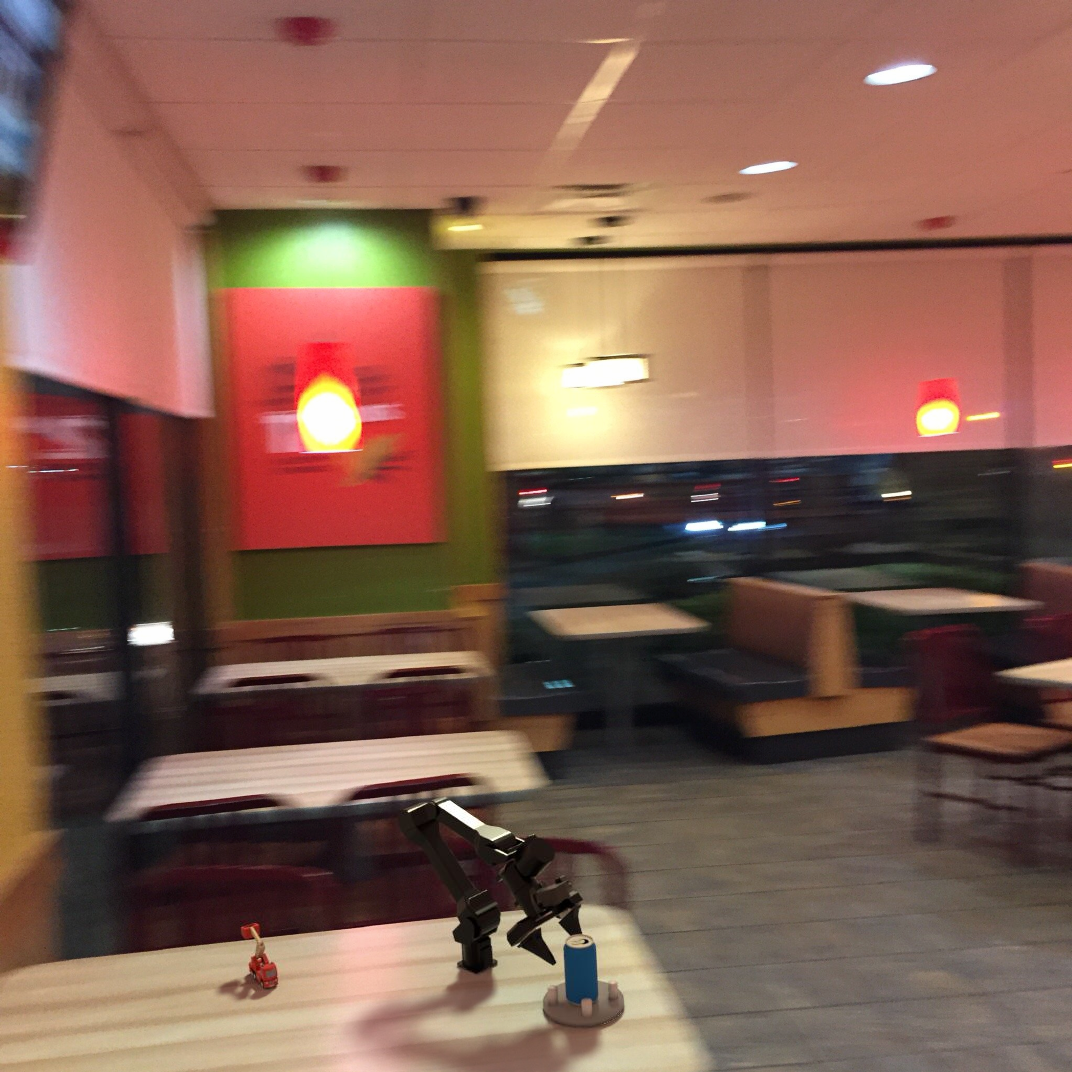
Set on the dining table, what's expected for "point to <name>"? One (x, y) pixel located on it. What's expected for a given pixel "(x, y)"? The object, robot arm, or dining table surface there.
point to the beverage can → (580, 968)
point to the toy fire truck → (261, 967)
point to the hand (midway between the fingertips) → (569, 955)
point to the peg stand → (584, 1006)
